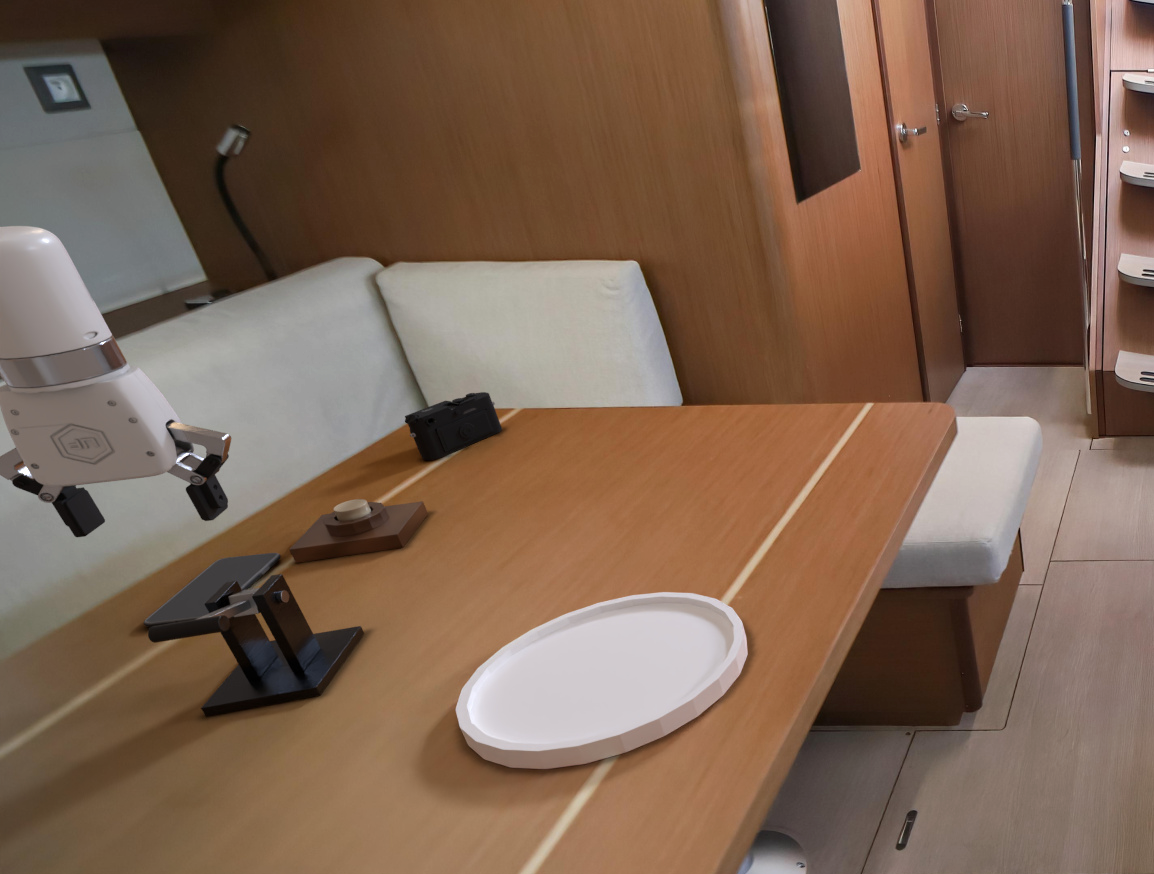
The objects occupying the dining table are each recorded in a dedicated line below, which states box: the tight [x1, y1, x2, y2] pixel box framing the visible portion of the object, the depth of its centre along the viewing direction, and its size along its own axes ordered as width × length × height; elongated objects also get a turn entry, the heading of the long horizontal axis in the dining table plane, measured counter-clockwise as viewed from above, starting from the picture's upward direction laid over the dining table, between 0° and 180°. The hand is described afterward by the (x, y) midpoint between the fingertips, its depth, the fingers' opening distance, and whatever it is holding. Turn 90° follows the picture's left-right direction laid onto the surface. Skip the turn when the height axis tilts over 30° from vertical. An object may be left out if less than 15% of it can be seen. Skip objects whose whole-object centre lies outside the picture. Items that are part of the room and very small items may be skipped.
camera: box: [404, 391, 503, 461], centre depth 162 cm, size 14×7×8 cm, turn 165°
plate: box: [454, 591, 749, 770], centre depth 110 cm, size 28×28×2 cm
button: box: [332, 498, 371, 521], centre depth 134 cm, size 4×4×2 cm
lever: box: [147, 587, 261, 644], centre depth 101 cm, size 12×6×2 cm, turn 21°
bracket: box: [200, 573, 365, 717], centre depth 108 cm, size 12×10×12 cm
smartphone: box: [143, 552, 282, 628], centre depth 124 cm, size 7×1×15 cm
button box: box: [288, 500, 429, 564], centre depth 135 cm, size 12×10×4 cm
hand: (154, 522), depth 96 cm, fingers open, 9 cm apart
